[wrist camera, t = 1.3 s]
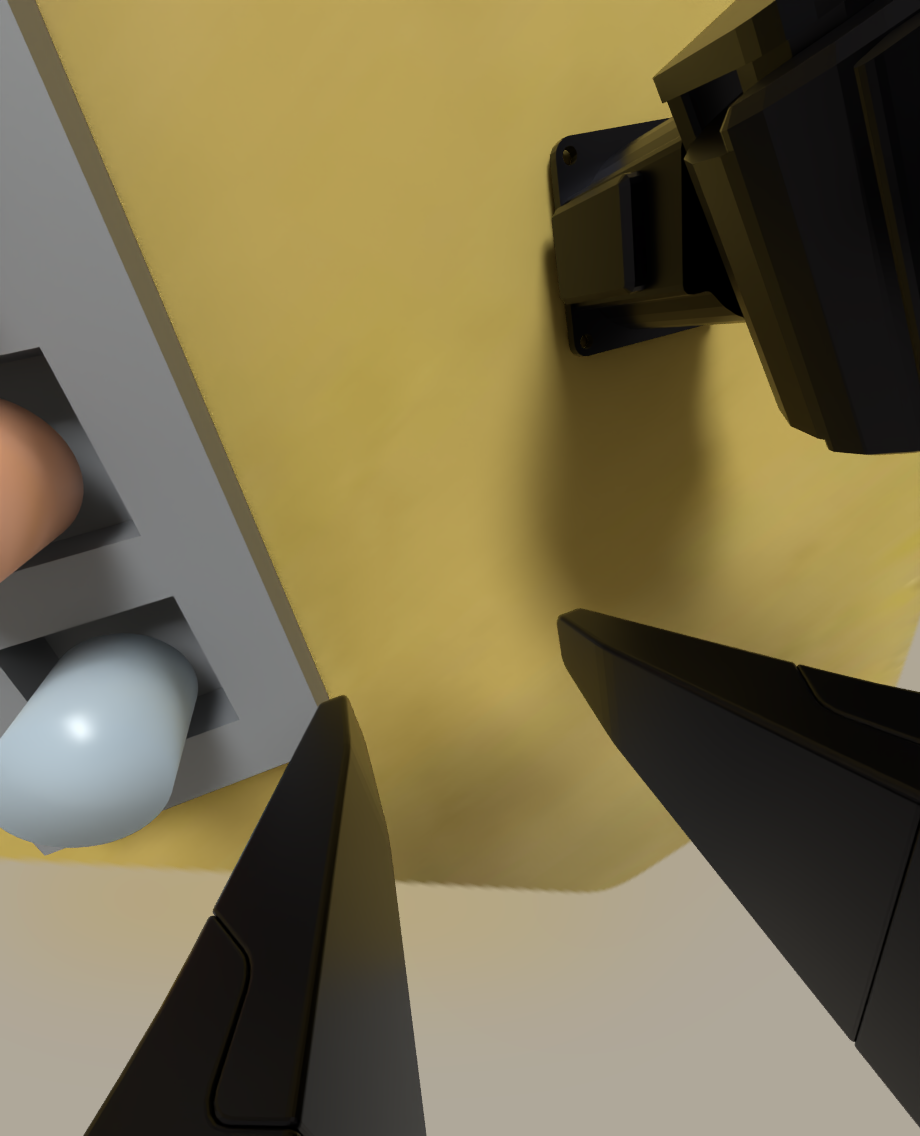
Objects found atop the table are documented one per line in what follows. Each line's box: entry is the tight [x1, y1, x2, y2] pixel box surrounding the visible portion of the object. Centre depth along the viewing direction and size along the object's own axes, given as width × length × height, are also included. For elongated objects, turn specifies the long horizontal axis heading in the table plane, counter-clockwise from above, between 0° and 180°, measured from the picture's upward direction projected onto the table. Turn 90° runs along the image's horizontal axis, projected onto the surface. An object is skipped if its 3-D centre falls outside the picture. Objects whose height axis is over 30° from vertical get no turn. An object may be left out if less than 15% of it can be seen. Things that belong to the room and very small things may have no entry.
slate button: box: [0, 633, 198, 848], centre depth 14 cm, size 4×4×4 cm
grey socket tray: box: [0, 0, 329, 855], centre depth 14 cm, size 10×24×3 cm, turn 12°
